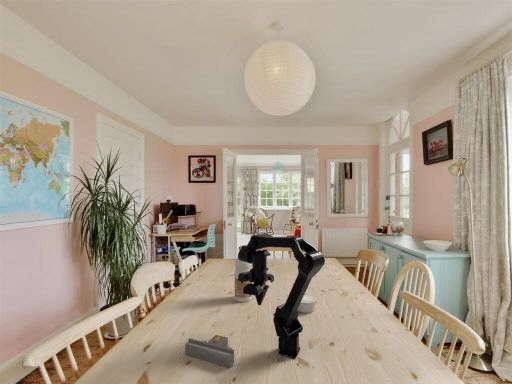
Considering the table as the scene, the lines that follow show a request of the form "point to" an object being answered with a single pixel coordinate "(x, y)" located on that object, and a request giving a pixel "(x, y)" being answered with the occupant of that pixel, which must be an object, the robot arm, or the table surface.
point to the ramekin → (307, 304)
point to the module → (219, 341)
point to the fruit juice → (239, 286)
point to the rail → (210, 352)
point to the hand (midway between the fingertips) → (259, 304)
